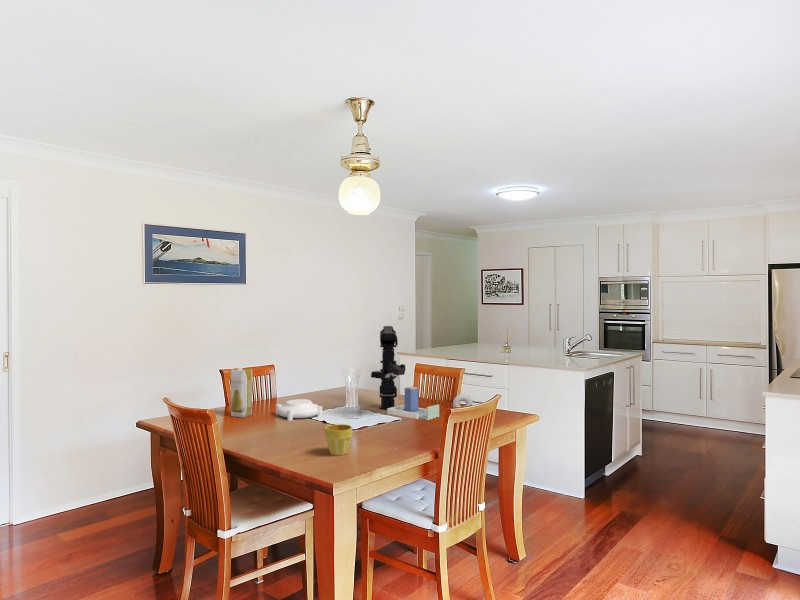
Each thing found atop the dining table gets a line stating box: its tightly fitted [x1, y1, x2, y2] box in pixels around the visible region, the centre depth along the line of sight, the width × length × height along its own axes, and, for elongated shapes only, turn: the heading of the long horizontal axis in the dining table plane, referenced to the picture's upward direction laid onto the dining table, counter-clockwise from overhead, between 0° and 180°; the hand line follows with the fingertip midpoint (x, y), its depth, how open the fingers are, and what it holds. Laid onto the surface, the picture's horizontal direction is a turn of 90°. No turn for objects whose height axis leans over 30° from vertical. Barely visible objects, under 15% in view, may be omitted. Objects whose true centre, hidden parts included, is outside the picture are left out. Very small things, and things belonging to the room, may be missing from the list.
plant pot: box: [324, 423, 353, 456], centre depth 211 cm, size 10×10×10 cm
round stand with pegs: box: [275, 398, 323, 422], centre depth 275 cm, size 24×24×7 cm
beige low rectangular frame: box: [386, 404, 426, 420], centre depth 279 cm, size 19×12×2 cm, turn 50°
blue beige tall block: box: [404, 386, 419, 412], centre depth 278 cm, size 5×5×12 cm
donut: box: [452, 393, 473, 409], centre depth 281 cm, size 10×4×10 cm, turn 94°
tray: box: [401, 404, 440, 421], centre depth 275 cm, size 18×9×6 cm, turn 50°
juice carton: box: [230, 366, 253, 418], centre depth 273 cm, size 9×8×24 cm
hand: (387, 390), depth 271 cm, fingers closed
